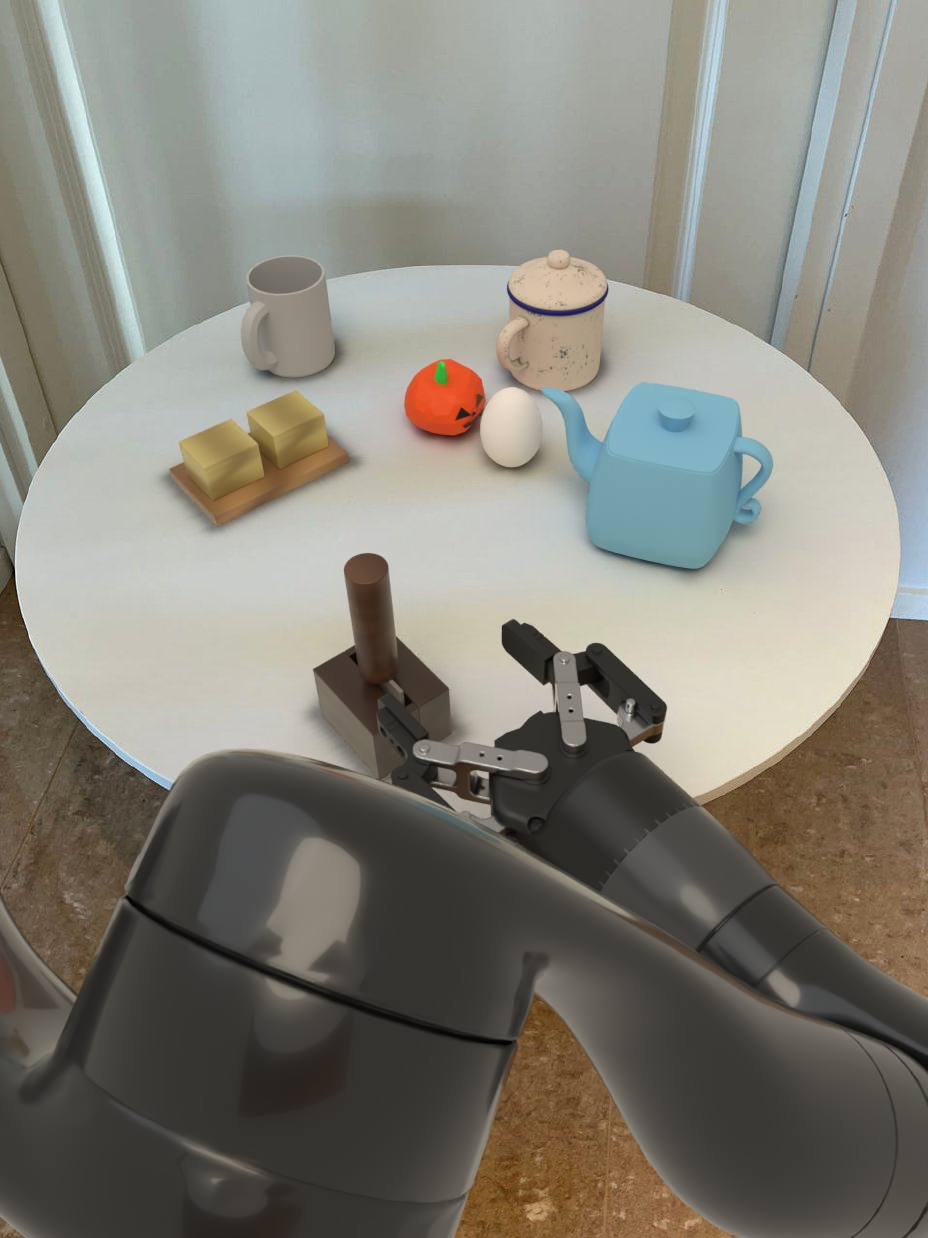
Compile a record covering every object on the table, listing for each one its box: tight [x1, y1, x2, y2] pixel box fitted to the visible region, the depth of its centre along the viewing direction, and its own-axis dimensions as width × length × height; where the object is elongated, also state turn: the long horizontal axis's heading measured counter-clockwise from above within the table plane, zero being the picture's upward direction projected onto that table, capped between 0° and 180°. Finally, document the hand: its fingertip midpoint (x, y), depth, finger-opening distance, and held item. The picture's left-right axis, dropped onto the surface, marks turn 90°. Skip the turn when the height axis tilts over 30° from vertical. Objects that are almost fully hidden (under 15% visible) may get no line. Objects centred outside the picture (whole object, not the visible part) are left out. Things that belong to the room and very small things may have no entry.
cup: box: [240, 254, 336, 379], centre depth 99 cm, size 7×10×9 cm
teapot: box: [541, 381, 774, 570], centre depth 82 cm, size 12×18×12 cm
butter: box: [169, 389, 350, 527], centre depth 90 cm, size 13×8×5 cm, turn 128°
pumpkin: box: [403, 358, 487, 436], centre depth 93 cm, size 7×8×6 cm
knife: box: [343, 552, 405, 707], centre depth 67 cm, size 3×5×15 cm, turn 38°
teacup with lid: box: [495, 249, 609, 392], centre depth 96 cm, size 12×9×12 cm
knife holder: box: [312, 635, 452, 780], centre depth 70 cm, size 6×7×5 cm
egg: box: [479, 386, 544, 468], centre depth 89 cm, size 5×5×7 cm
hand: (446, 667), depth 59 cm, fingers open, 8 cm apart
